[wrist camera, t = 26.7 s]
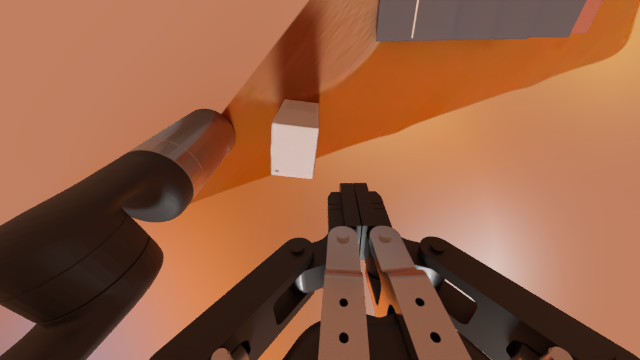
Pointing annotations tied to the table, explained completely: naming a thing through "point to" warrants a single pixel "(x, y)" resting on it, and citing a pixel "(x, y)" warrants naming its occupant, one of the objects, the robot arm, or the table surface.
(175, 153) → the robot arm
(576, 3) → the domino
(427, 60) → the table surface
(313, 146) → the small box
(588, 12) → the domino
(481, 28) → the domino
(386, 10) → the domino
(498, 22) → the domino
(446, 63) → the table surface
